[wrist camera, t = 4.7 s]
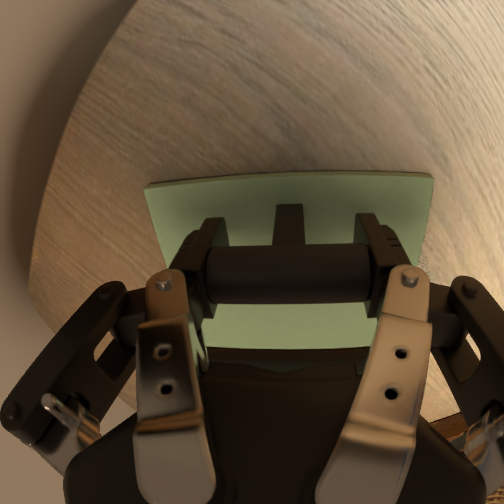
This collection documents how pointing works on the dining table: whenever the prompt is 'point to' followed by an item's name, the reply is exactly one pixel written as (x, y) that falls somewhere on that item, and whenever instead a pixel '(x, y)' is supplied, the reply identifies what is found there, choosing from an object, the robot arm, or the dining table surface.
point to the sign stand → (290, 358)
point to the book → (453, 430)
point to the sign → (291, 250)
